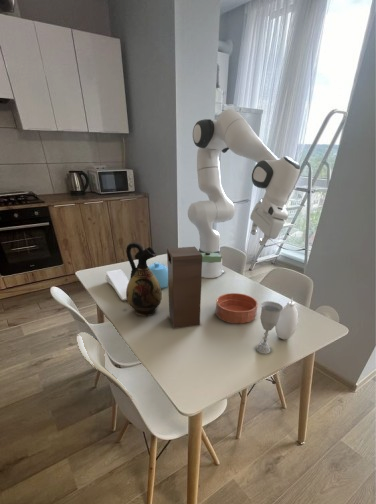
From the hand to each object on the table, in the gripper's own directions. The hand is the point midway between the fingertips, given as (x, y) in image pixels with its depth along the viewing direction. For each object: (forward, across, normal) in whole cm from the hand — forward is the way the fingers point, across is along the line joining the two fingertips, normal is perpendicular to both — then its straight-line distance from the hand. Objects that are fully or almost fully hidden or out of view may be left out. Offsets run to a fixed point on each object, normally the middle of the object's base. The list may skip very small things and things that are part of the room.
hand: (256, 239), depth 120 cm
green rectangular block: (+8, +11, -25) cm, 28 cm away
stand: (+35, +15, -26) cm, 46 cm away
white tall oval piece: (+23, +36, +7) cm, 43 cm away
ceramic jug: (+41, +3, -41) cm, 58 cm away
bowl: (+29, +15, -3) cm, 33 cm away
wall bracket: (+47, -20, -48) cm, 70 cm away
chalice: (+24, +41, -4) cm, 48 cm away
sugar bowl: (+43, -24, -30) cm, 57 cm away
